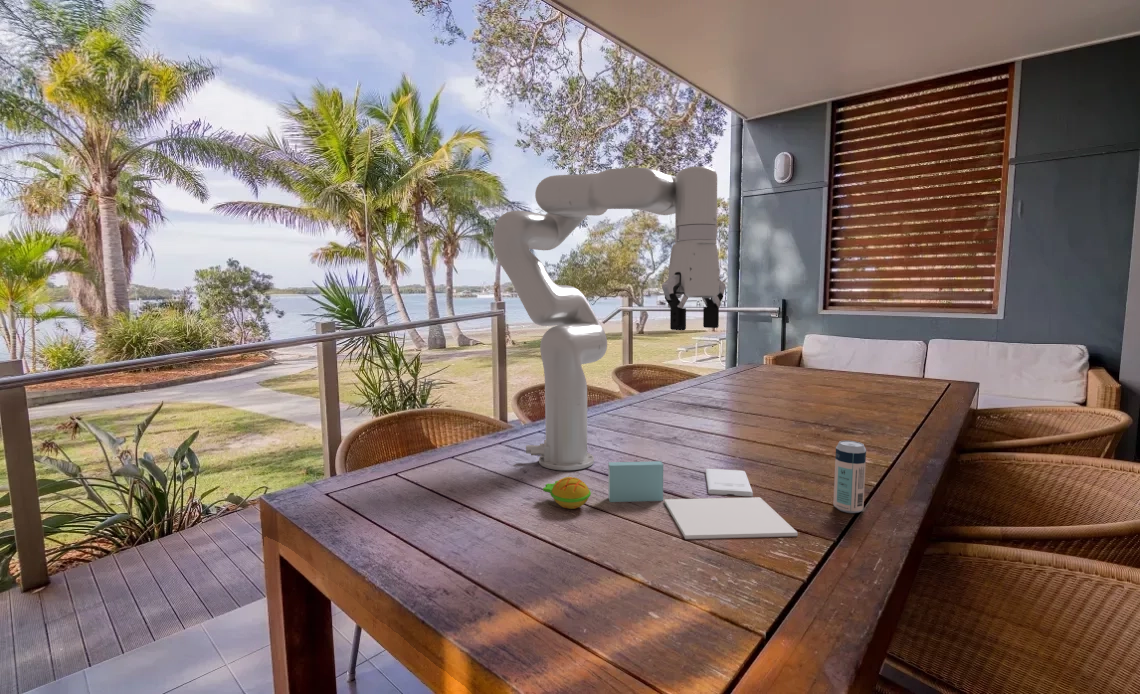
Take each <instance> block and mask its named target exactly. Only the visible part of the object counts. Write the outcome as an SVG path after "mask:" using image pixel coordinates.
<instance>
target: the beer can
mask: <svg viewBox="0 0 1140 694" xmlns="http://www.w3.org/2000/svg"><path fill="white" fill-rule="evenodd" d="M866 457H867V449H866V447H865V444H864V443H862V442H859V441H854V440H840V441H839V442H838V443H837V445H836V446H835V459H834V460H835V461H834V462H835V463H834V482H833V485H834V486H833V502H832V503H833V504H832V505H833V507H835V508H836V509H837V510H839V511H840V512H843V513H847V514H858V513H861V512H863V510H864V504H865V503H864V501H865V483H866V463H867V462H866V461H867V458H866Z"/></svg>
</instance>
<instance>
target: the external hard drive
mask: <svg viewBox="0 0 1140 694" xmlns="http://www.w3.org/2000/svg"><path fill="white" fill-rule="evenodd" d="M705 477H706V479H705V480H706V485H707V491H708V494H710V495H721V496H722V495H723V496H724V495H725V496H727V495H729V496H735V497H737V496H738V497H739V496H740V497H741V496H742V497H749V498H750V497H754V493H753V489H752V487H751V484H750V480H749V478H748V476H747V473H746V471H745V470H738V469H722V468H706V469H705Z"/></svg>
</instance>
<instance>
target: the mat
mask: <svg viewBox="0 0 1140 694" xmlns="http://www.w3.org/2000/svg"><path fill="white" fill-rule="evenodd" d="M663 501H664V502H663V503H664V506H666V508H667V510H668V512H669V513H670V515H671V517H672V518H673V520H674V522H675V525H676V526H677V527H678V529H679V531H680V532H681V534H682V535H683V537H684V539H685V540H696V539H698V540H699V539H700V540H701V539H732V538H733V539H736V538H737V539H738V538H742V539H743V538H770V537H771V538H773V537H774V538H775V537H779V538H780V537H781V538H782V537H798V534H799V533H798V531H797V530H796V529H794V527H792V525H790V524H789V523H788V522H787V521H786V520H785V519H784V518H783V517H782V516H781V515H780V514H778V513H777V512H776V510H775V509H773V508H772V507H771V506H770V505H769V504H768V503H767V502H766V501H765V500H764V499H763V498H761V497H758V496H757V497H756V496H755V497H754V496H753V497H750V496H749V497H718V498H717V497H716V498H715V497H714V498H712V497H709V498H708V497H707V498H675V499H674V498H672V499H671V498H670V499H668V498H667V499H664V498H663Z"/></svg>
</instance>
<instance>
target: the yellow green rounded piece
mask: <svg viewBox="0 0 1140 694" xmlns="http://www.w3.org/2000/svg"><path fill="white" fill-rule="evenodd" d="M542 490H543V492H546V493H549V494H550V496H551V497H552V498H553V500H554V501H555V503H556V504H558V506H560V507H562V508H564V509H568V510H575V509H577V508H578V509H579V508H580V507H582V506H584V505H585V504H586V503H587V501H588V500H589V497H591V496H592V495H591V493H592V492H591V489H589V487H588V486H587V484H586V483H585V482H583V480H582V479H580V478H577V477H572V476H566V477H563V478H560V479H559V480H555V482H554V483H546V484H545V486H544V487H543V488H542Z"/></svg>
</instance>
